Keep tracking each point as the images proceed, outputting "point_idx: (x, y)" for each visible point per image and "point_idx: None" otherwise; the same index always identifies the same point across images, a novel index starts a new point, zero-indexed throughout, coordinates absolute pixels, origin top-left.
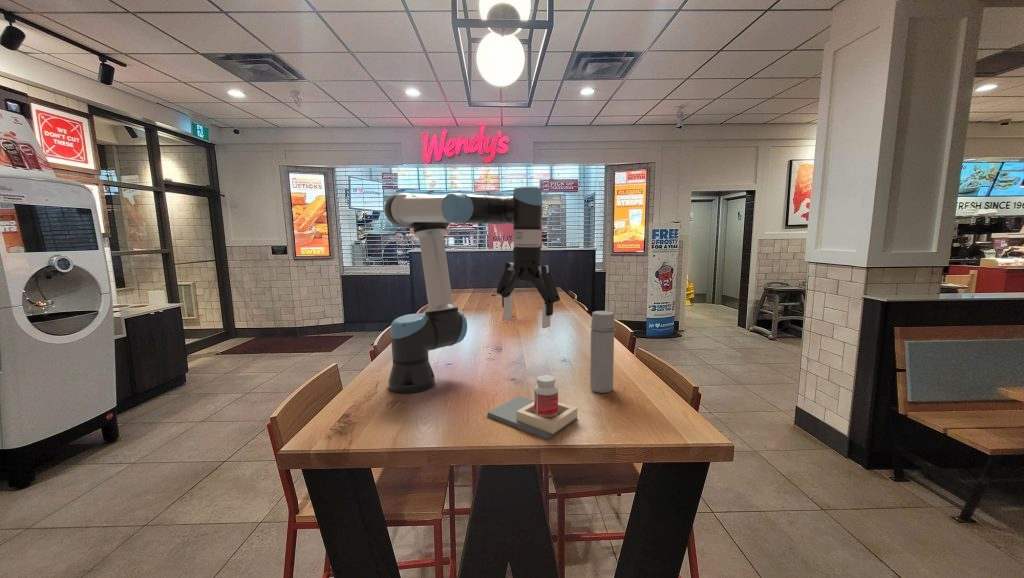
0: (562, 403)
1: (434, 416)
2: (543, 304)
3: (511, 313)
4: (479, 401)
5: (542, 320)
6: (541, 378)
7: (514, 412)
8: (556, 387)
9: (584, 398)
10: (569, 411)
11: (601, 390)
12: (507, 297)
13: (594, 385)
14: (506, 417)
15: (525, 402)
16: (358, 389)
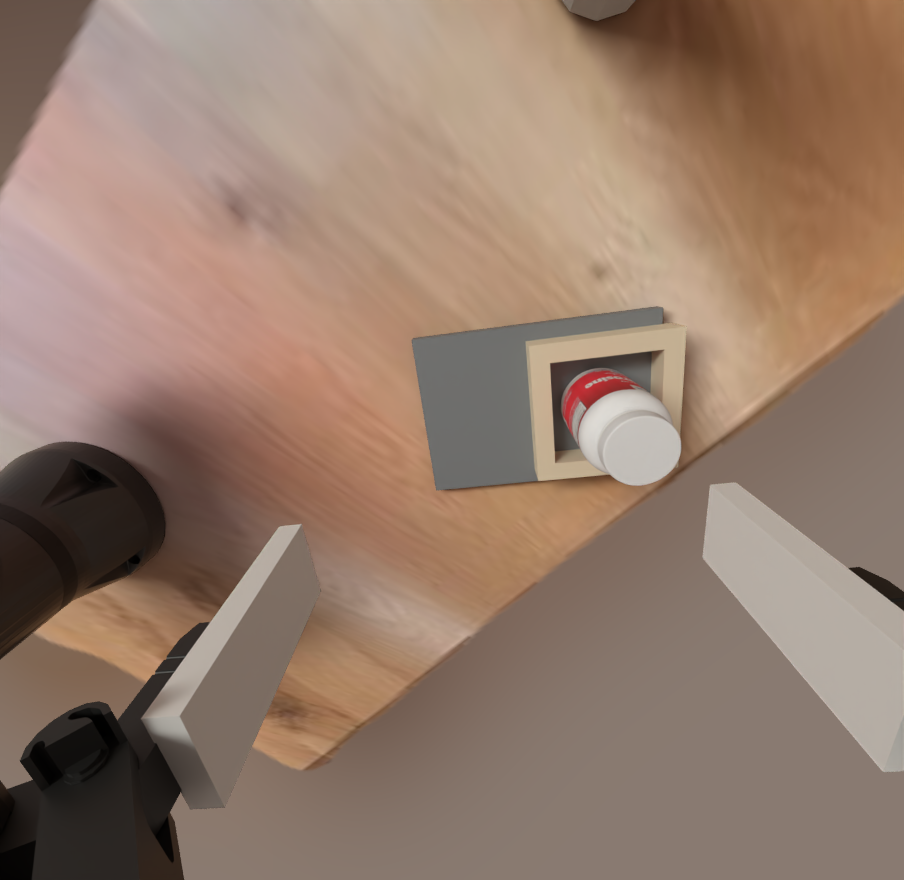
0: (622, 335)
1: (342, 570)
2: (891, 760)
3: (284, 556)
4: (337, 440)
5: (742, 601)
6: (627, 466)
7: (495, 440)
8: (665, 413)
9: (590, 130)
10: (677, 369)
11: (632, 3)
12: (212, 781)
13: (601, 6)
14: (501, 476)
15: (467, 365)
16: (58, 615)
